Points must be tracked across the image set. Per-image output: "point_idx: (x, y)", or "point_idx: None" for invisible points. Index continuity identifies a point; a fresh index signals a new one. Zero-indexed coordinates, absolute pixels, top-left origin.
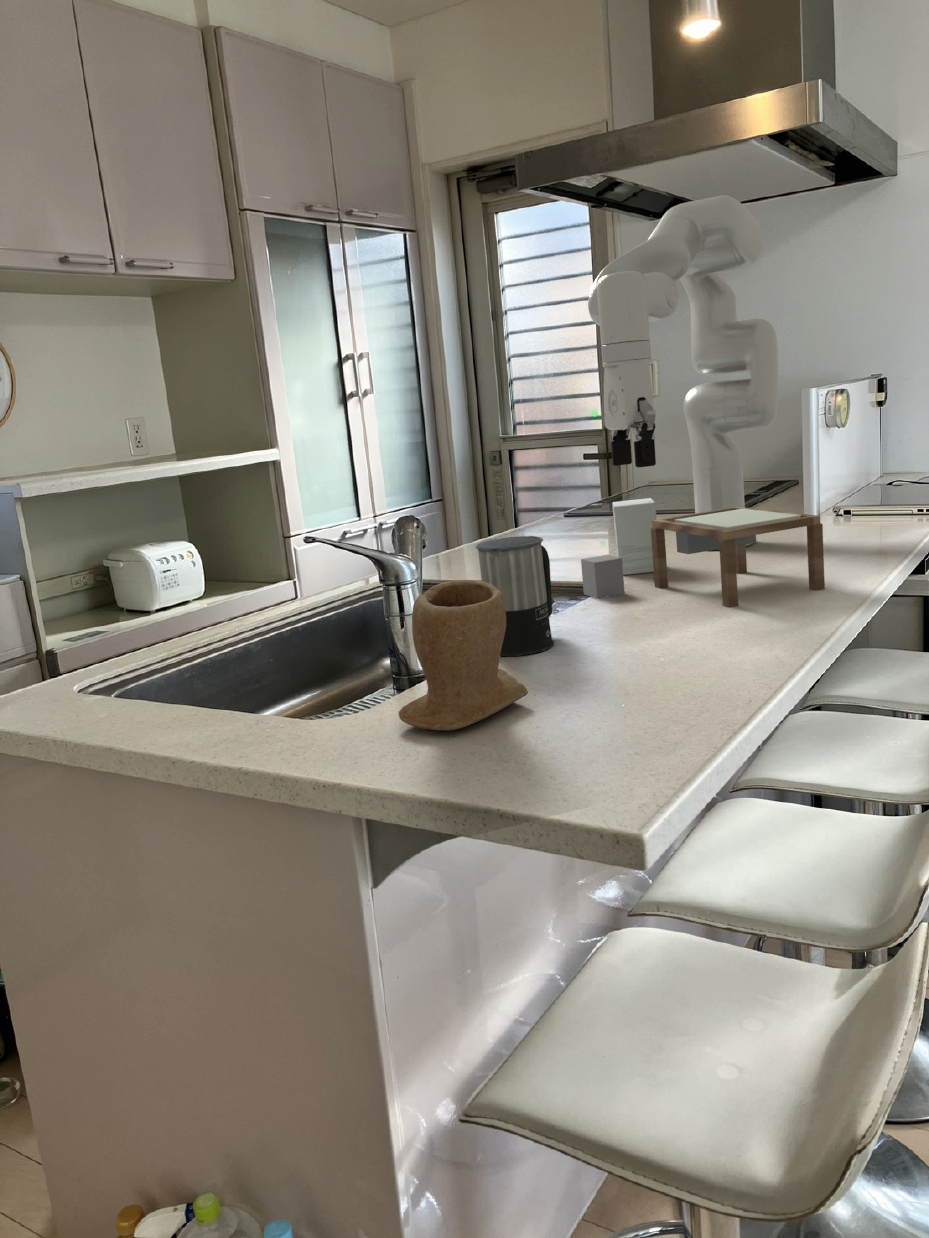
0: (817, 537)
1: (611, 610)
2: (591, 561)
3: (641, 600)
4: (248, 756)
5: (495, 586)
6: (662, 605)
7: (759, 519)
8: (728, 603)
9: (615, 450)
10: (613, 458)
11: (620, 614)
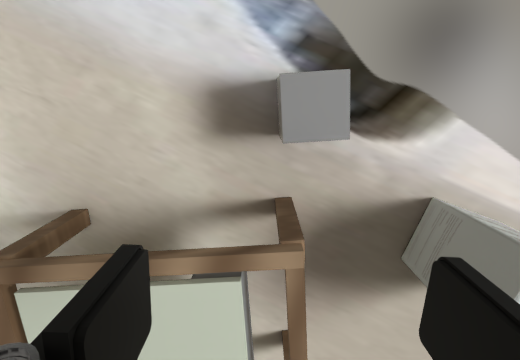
0: None
1: (166, 59)
2: (298, 75)
3: (206, 133)
4: None
5: None
6: (147, 142)
7: None
8: (69, 211)
9: (483, 314)
10: (462, 273)
11: (127, 58)
